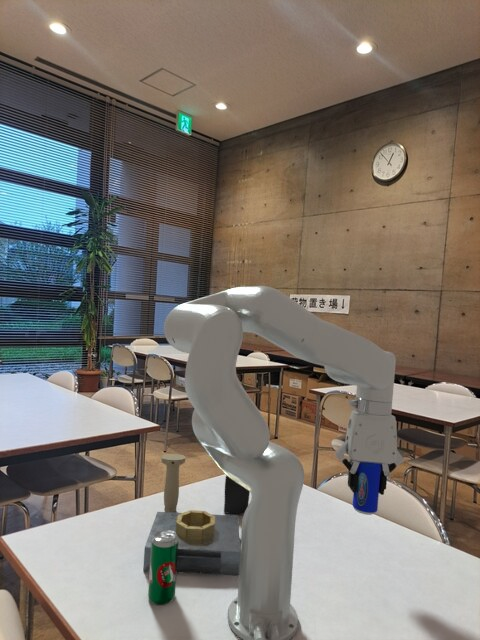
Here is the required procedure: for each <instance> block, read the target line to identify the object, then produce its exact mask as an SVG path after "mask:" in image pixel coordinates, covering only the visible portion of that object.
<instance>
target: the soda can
mask: <svg viewBox="0 0 480 640" xmlns="http://www.w3.org/2000/svg"><path fill="white" fill-rule="evenodd" d="M177 555H178V538H177V535H176V533H175V532H174V531H171V530H161V531H158V532H156V533H155V534H154V538H153V539H152V541H151V557H150V571H149V573H148V574H149V575H148V593H147V594H148V595H147V597H148V599H149V601H150V602H152V604H155V605H157V606H164V605H167V604H169V603H171V602H172V601H173V599H174V598H175V596H176V583H177V582H176V581H177V572H176V571H177Z"/></svg>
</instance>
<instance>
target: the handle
mask: <svg viewBox="0 0 480 640" xmlns="http://www.w3.org/2000/svg"><path fill="white" fill-rule="evenodd" d="M160 460H161V463H162V464H164V465H166V471H165V472H166V473H165V479H164V480H165V481H164V489H163V490H164V491H163V505H164V512H172V513H177V506H178V502H179V495H180V466H182V465H183V464H185V463H186V456H185V455H184V454H179V453H167V454H166V453H165V454H162V455H161V459H160Z"/></svg>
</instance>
